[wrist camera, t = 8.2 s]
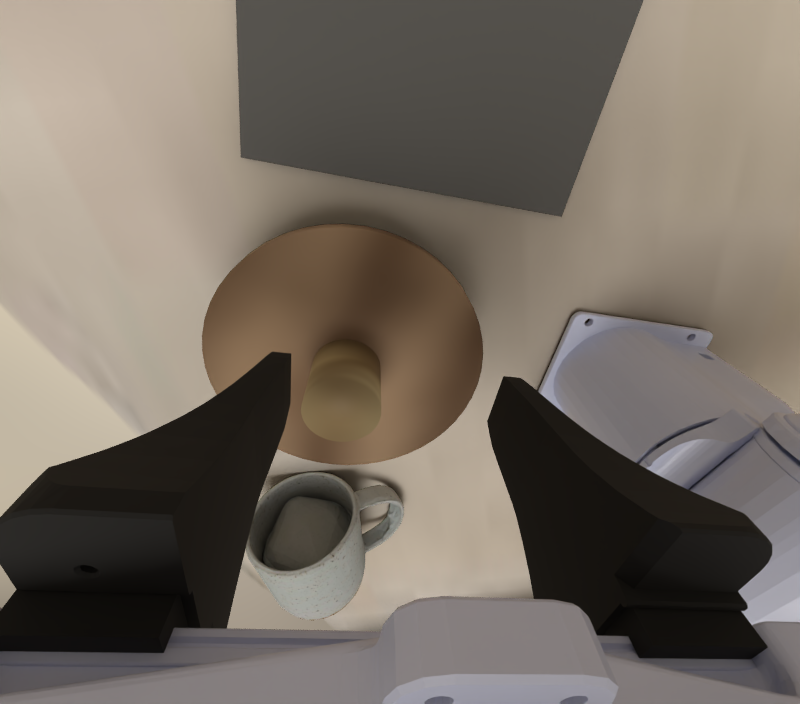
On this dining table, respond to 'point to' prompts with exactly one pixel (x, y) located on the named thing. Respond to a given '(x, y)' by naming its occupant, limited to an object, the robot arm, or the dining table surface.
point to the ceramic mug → (316, 541)
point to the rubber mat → (431, 91)
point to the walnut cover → (350, 340)
